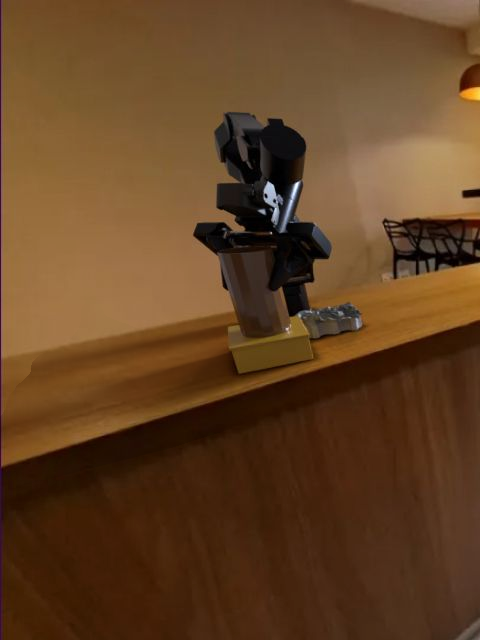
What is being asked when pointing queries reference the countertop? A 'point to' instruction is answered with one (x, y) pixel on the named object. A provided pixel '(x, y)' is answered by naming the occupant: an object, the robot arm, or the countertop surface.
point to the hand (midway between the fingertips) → (248, 289)
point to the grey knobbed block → (331, 320)
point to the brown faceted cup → (254, 291)
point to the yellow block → (270, 348)
